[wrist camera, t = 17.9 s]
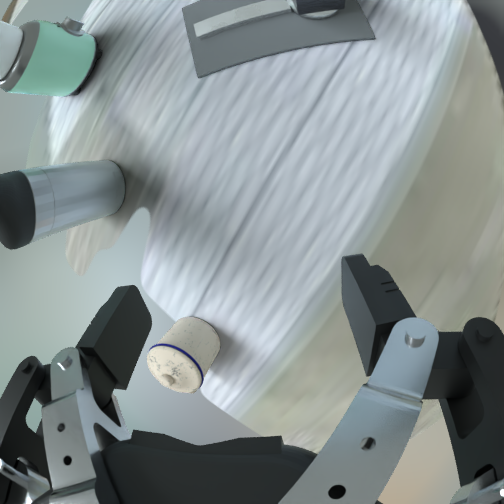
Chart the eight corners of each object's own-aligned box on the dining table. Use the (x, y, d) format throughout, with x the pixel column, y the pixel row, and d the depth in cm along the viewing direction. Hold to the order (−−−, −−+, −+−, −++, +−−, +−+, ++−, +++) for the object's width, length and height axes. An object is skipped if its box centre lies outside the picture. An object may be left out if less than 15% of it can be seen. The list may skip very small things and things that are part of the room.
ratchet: (203, 51, 29) (184, 36, 24) (194, 17, 27) (176, 1, 22) (348, 17, 23) (351, -5, 18) (330, -17, 21) (329, -39, 16)
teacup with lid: (167, 312, 43) (128, 352, 33) (217, 315, 41) (184, 362, 30) (183, 367, 47) (154, 409, 36) (229, 373, 44) (206, 422, 34)
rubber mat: (199, 78, 31) (197, 77, 30) (183, 9, 27) (181, 8, 27) (374, 39, 24) (375, 37, 23) (338, -30, 20) (338, -31, 20)
